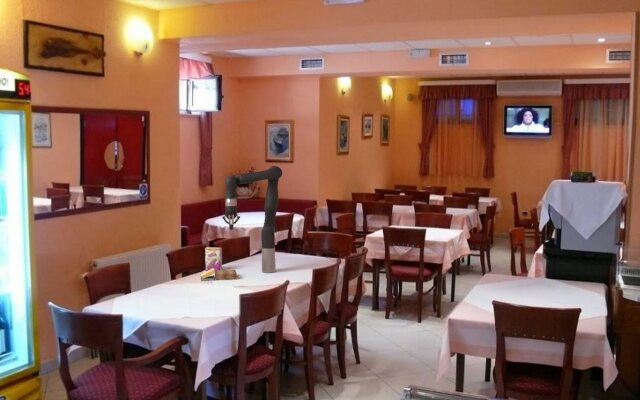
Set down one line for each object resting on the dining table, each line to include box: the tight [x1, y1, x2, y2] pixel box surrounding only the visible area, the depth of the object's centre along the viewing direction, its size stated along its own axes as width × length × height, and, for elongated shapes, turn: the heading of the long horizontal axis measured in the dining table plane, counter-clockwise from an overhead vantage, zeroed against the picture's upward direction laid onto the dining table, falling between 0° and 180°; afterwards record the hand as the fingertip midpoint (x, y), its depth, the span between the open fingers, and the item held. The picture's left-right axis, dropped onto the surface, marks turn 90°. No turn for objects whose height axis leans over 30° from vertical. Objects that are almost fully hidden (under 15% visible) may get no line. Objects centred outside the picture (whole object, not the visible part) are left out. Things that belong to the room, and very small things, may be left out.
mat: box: [200, 275, 216, 282], centre depth 423 cm, size 9×14×1 cm, turn 12°
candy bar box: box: [204, 246, 223, 272], centre depth 449 cm, size 11×5×16 cm, turn 84°
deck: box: [214, 269, 238, 281], centre depth 425 cm, size 14×13×4 cm
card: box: [201, 268, 215, 279], centre depth 424 cm, size 9×6×2 cm, turn 101°
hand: (231, 229), depth 435 cm, fingers closed
